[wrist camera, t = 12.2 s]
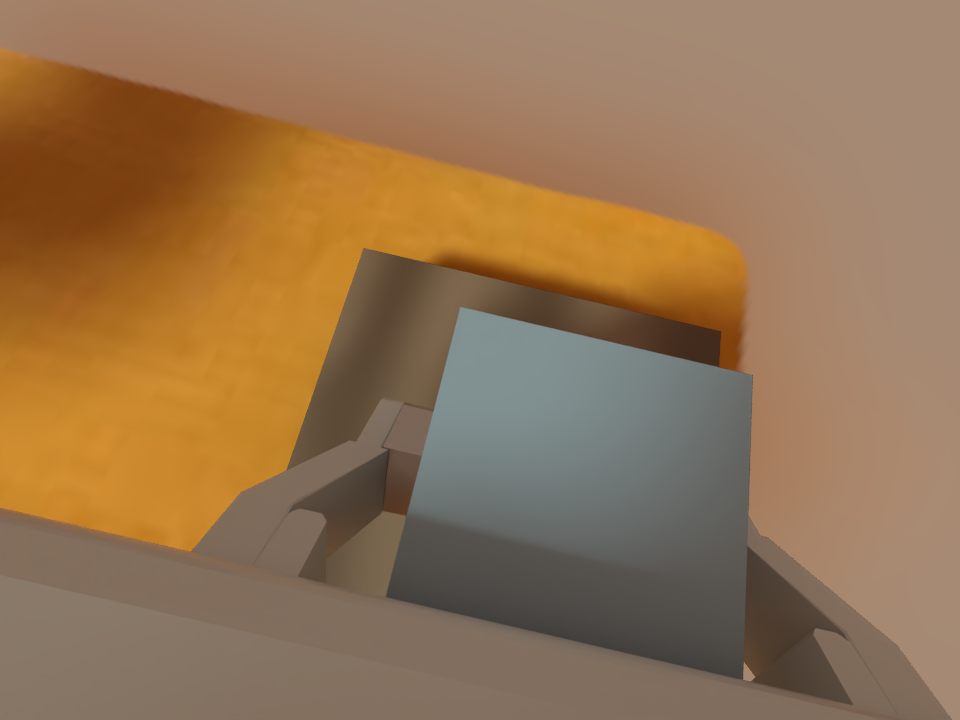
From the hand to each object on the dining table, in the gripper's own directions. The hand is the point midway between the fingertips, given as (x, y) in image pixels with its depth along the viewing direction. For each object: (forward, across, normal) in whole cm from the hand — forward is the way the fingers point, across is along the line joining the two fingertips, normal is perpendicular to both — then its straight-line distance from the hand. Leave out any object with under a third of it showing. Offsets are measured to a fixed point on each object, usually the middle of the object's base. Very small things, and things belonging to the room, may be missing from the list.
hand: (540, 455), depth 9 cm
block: (+3, 0, +4) cm, 5 cm away
